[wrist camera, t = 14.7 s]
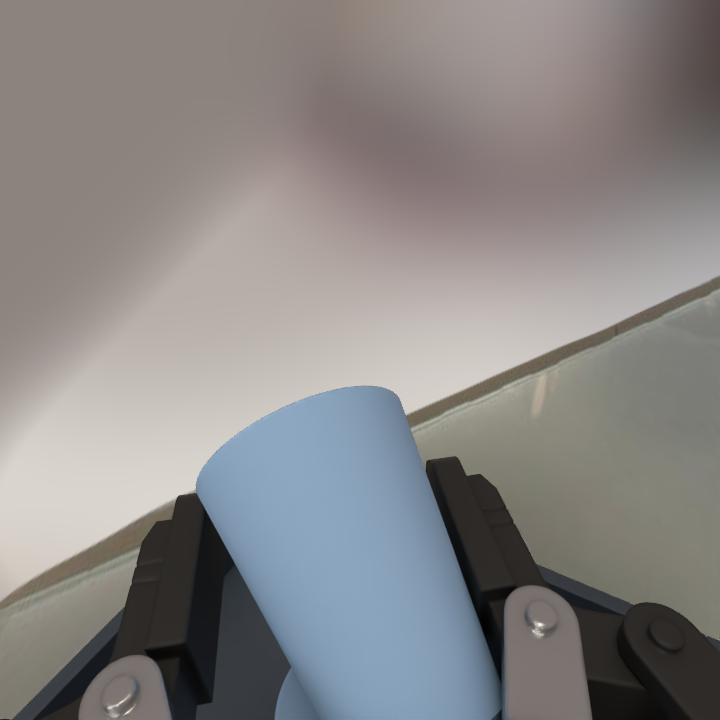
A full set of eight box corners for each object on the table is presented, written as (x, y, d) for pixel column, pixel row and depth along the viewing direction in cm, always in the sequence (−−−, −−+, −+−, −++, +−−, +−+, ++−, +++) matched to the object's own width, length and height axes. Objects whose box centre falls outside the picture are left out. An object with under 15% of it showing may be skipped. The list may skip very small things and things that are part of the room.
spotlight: (232, 655, 15) (329, 973, 9) (165, 375, 10) (291, 716, 5) (373, 585, 17) (517, 815, 12) (377, 324, 12) (635, 517, 7)
